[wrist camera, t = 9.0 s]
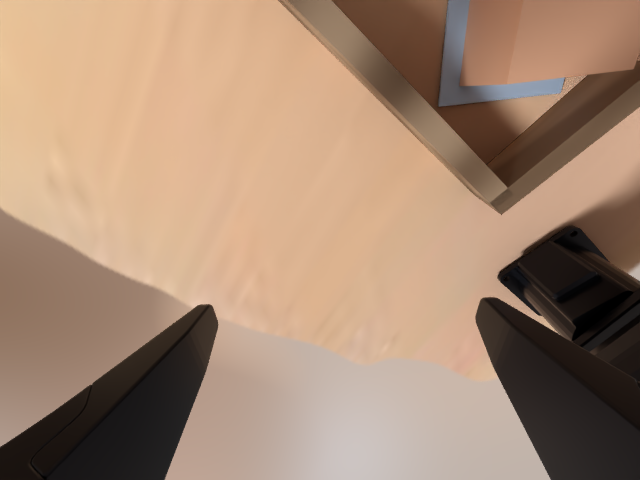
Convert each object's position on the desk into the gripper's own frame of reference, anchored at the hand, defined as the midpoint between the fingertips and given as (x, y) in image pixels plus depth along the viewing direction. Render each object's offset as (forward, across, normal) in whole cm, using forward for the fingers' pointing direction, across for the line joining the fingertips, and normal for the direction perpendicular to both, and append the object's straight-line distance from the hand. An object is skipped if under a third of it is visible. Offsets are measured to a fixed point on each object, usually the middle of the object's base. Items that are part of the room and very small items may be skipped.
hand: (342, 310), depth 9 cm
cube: (+12, -10, -9) cm, 18 cm away
